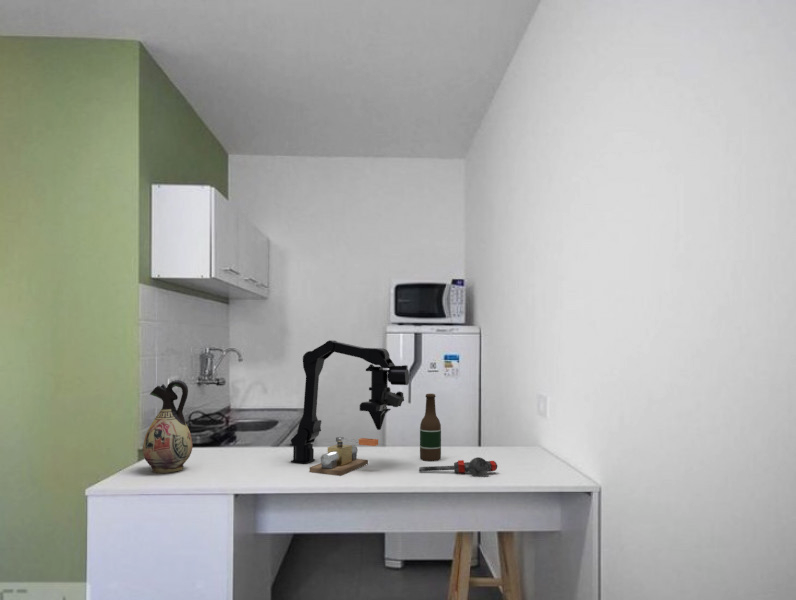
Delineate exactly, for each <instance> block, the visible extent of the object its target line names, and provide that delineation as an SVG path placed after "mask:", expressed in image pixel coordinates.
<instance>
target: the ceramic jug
mask: <svg viewBox="0 0 796 600" xmlns="http://www.w3.org/2000/svg"><path fill="white" fill-rule="evenodd" d="M176 387H178V388H180V389H181V392H182V393H181V397H180V401H179V404H178V407H177V408H176V406H175V402H174V401H177V400H178V399H179V397H178V395H177V394H176V392H175V391H174V390H173V388H176ZM188 393H189V387H188V385H187V383H185V382H184V381H182V380H179V379H176V380H172V381H170V382H169V383H168V384H167V385H165V384H161V385H157V386H155V388H153V389H152V390H151V392H150V393H149V395H151V396H153V397H156V398H157V399H160V400H161V401H162V408H161V409H160V410H159V412H158V414H157V415H156V416H155V418H154V420H153V421H152V422H151V424H150V426H149V427H148V429H147V431H146V433H145V437H144V440H143V444H142V453H143V454H142V455H143V458H144V460H145V461H146V463H147V464H148V465H149V466H150V468H151V469H152V473H155V474H167V473H168V474H169V473H176V472H180V471H182V470H183V469H184V464H185V463H186V462H187V460H188V459H189V458H190V456H191V454H192V452H193V438H192V433H191V431H190V429H189V426H188V425H187V423H186V420H185V417H184V413H183V411H184V407H185V404H186V401H187V399H188Z"/></svg>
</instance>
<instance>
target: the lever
mask: <svg viewBox="0 0 796 600" xmlns="http://www.w3.org/2000/svg"><path fill="white" fill-rule="evenodd" d="M335 442H343V443H352V444H353V443H354V444H358V445H360V446H369V447H376V446H379V439H376V438H365V437H362V438H350V437H343V436H342V437H341V436H336V437H335Z"/></svg>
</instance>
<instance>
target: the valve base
mask: <svg viewBox="0 0 796 600" xmlns="http://www.w3.org/2000/svg"><path fill="white" fill-rule="evenodd" d="M357 454H358V447H357V446H356V444H344V442H337V443H336V444H334V445H331V446H328V447H327V453H324V454H322V455H321V456H320V463H318V464H314V465H312V466H309V473H315V474H324V475H332V476H343V475H346V474H349V473H351V472H354V471H355V469H356V470H357V468H358V469H359V467H360V468H363V467H365V466H367V465H369V459H364V458H363V459H362V458H357V456H358V455H357ZM366 464H367V465H366ZM364 465H365V466H364ZM362 466H363V467H362Z"/></svg>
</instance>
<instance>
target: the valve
mask: <svg viewBox="0 0 796 600" xmlns="http://www.w3.org/2000/svg"><path fill="white" fill-rule="evenodd" d="M497 469H498V464H497V462H496V461H495V460H488V461H487V460H485V459H484V458H482V457H474V458H472V459H471V460H470V462H469V461H468V462H466V461H465V460H463V459H462V460H457V461H456V462H454V463H453V465H434V466H433V465H432V466H419V467H418V471H419V472H431V471H435V472H436V471H454V473H456V474H459V475H462V474H463V475H464V474H466V473H470V475H471V476H472V477H475V478H484V477H486V475H487V474H488V473H489V472H494V471H497Z"/></svg>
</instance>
